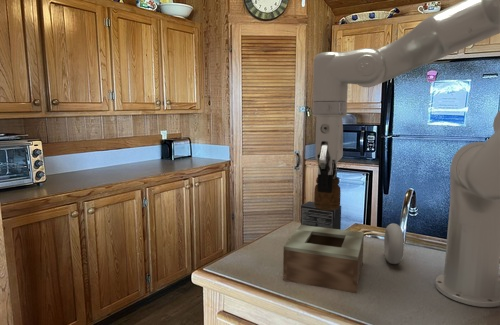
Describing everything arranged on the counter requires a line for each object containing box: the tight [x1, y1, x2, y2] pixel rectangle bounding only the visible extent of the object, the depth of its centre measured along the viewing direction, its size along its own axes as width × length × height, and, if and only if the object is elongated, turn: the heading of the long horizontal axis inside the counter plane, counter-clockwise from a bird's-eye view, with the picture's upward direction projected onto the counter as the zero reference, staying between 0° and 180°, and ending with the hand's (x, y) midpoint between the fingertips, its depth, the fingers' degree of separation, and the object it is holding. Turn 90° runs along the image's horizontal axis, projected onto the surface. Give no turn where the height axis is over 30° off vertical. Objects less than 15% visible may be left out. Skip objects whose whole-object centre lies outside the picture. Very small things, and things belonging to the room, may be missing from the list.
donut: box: [383, 223, 405, 265], centre depth 90 cm, size 10×4×10 cm, turn 168°
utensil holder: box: [313, 160, 342, 210], centre depth 83 cm, size 6×6×12 cm
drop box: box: [282, 224, 365, 294], centre depth 85 cm, size 16×16×8 cm
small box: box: [300, 201, 342, 230], centre depth 106 cm, size 11×6×10 cm, turn 58°
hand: (327, 188), depth 83 cm, fingers closed on utensil holder, 5 cm apart
